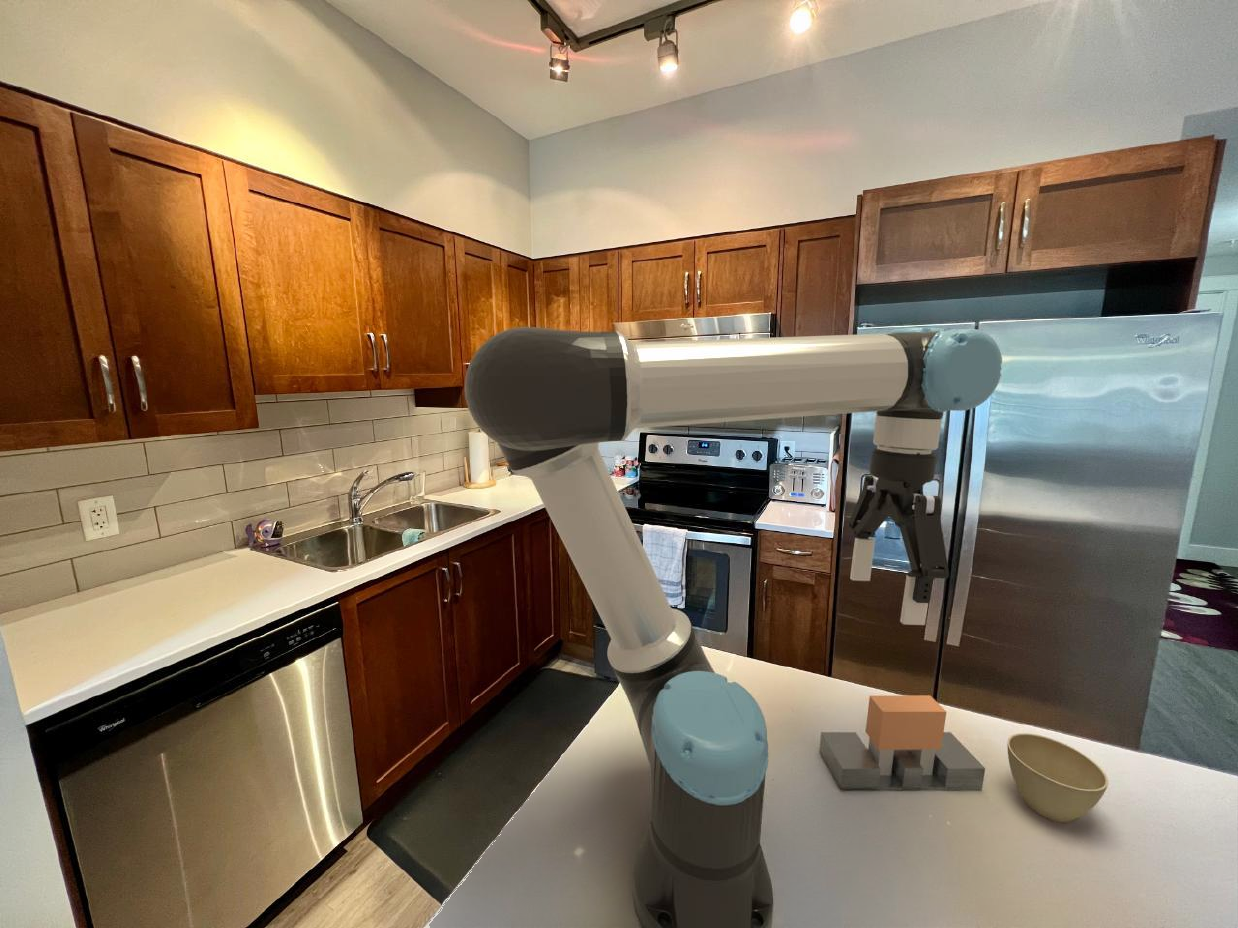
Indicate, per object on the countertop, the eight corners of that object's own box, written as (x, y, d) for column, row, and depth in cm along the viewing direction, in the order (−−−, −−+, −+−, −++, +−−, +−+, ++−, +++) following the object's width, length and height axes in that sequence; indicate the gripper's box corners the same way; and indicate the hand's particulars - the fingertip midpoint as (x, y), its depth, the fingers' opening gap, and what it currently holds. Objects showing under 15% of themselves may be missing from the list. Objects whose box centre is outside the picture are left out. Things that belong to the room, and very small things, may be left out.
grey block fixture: (840, 790, 68) (842, 768, 67) (819, 752, 74) (821, 732, 74) (981, 790, 68) (985, 768, 67) (947, 752, 75) (950, 732, 74)
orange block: (875, 777, 69) (882, 711, 67) (862, 758, 73) (869, 695, 71) (937, 776, 69) (946, 711, 68) (921, 758, 73) (930, 695, 71)
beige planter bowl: (1119, 847, 60) (1130, 797, 58) (1026, 831, 62) (1035, 782, 60) (1064, 782, 69) (1072, 738, 68) (985, 770, 71) (992, 727, 70)
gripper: (1006, 466, 52) (974, 648, 56) (882, 439, 77) (865, 566, 80) (936, 464, 52) (909, 646, 55) (835, 437, 76) (820, 564, 80)
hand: (883, 599), depth 68 cm, fingers open, 13 cm apart
